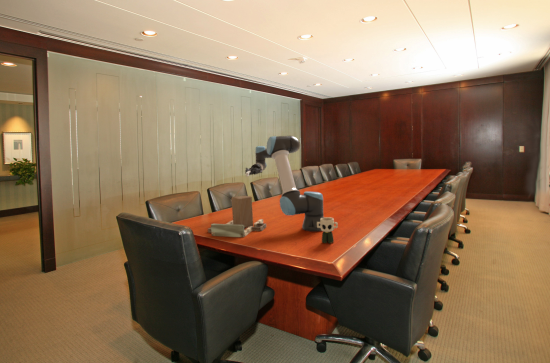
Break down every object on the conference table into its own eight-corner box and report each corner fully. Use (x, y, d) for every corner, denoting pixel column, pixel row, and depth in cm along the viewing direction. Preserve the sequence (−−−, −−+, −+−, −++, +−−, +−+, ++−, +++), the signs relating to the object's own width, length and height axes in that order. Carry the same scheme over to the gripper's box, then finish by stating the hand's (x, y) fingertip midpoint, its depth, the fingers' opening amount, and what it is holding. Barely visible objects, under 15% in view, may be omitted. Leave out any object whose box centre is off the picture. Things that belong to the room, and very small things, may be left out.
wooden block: (245, 223, 213) (243, 195, 211) (253, 226, 205) (251, 196, 203) (232, 226, 207) (231, 197, 205) (240, 229, 199) (239, 198, 197)
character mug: (316, 244, 161) (316, 220, 160) (318, 240, 168) (317, 217, 167) (337, 244, 159) (337, 220, 157) (338, 240, 166) (337, 217, 164)
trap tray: (228, 221, 222) (227, 211, 221) (271, 222, 212) (271, 212, 211) (202, 235, 189) (201, 224, 188) (253, 237, 178) (252, 226, 178)
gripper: (265, 174, 231) (255, 180, 208) (248, 172, 234) (237, 179, 211) (265, 164, 229) (256, 169, 207) (248, 162, 232) (237, 168, 209)
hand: (246, 174), depth 209 cm, fingers closed
